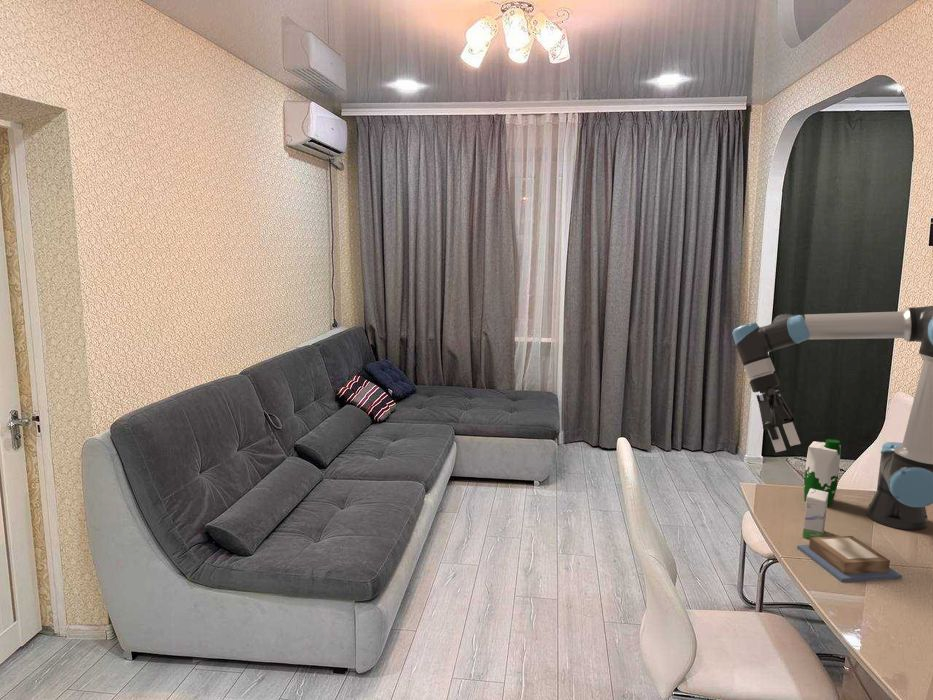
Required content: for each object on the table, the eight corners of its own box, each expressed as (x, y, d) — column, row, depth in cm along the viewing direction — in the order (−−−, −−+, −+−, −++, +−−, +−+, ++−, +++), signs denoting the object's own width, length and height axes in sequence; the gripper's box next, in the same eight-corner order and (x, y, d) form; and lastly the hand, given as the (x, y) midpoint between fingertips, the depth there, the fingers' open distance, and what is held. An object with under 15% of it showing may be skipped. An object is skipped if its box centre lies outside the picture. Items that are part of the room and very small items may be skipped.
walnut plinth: (850, 546, 184) (852, 535, 183) (888, 571, 170) (890, 559, 169) (808, 548, 182) (810, 537, 182) (843, 574, 168) (845, 561, 168)
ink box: (821, 541, 188) (826, 500, 186) (801, 537, 191) (806, 496, 189) (824, 530, 195) (829, 491, 193) (805, 526, 198) (809, 487, 196)
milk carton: (832, 508, 212) (838, 445, 208) (800, 501, 217) (806, 439, 214) (837, 499, 218) (843, 439, 215) (806, 493, 224) (812, 433, 220)
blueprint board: (852, 545, 186) (852, 542, 186) (901, 578, 168) (902, 575, 168) (797, 548, 184) (797, 545, 184) (841, 581, 166) (841, 578, 166)
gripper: (763, 378, 210) (788, 445, 206) (734, 382, 191) (760, 457, 187) (788, 370, 205) (814, 439, 201) (760, 374, 186) (788, 450, 182)
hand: (788, 448), depth 194 cm, fingers open, 13 cm apart
